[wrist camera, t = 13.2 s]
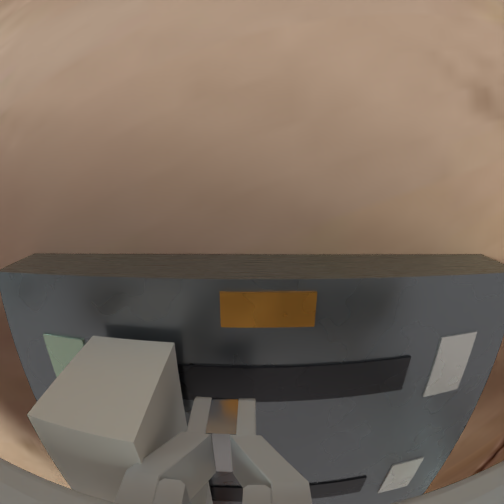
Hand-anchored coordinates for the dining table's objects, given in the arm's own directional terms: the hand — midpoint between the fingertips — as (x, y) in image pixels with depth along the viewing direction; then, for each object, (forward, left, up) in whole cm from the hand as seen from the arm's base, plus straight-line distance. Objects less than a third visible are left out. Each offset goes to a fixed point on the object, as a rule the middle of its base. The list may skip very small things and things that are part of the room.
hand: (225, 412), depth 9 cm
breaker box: (-1, +4, -5) cm, 6 cm away
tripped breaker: (+3, 0, -1) cm, 3 cm away
